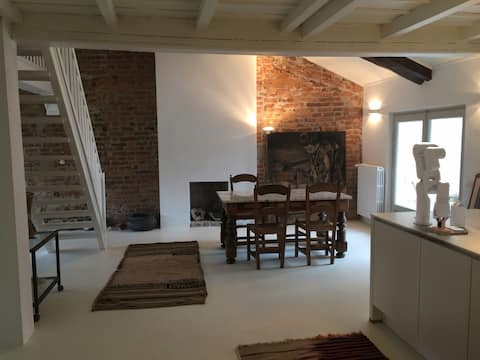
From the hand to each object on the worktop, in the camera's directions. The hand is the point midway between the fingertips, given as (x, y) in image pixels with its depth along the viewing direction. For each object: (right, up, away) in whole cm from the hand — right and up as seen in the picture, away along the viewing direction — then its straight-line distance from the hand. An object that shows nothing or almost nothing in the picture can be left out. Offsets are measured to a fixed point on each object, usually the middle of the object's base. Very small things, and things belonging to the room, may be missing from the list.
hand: (441, 227), depth 274 cm
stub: (0, -2, 0) cm, 2 cm away
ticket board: (+4, -4, +1) cm, 5 cm away
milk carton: (+20, -2, +18) cm, 27 cm away
